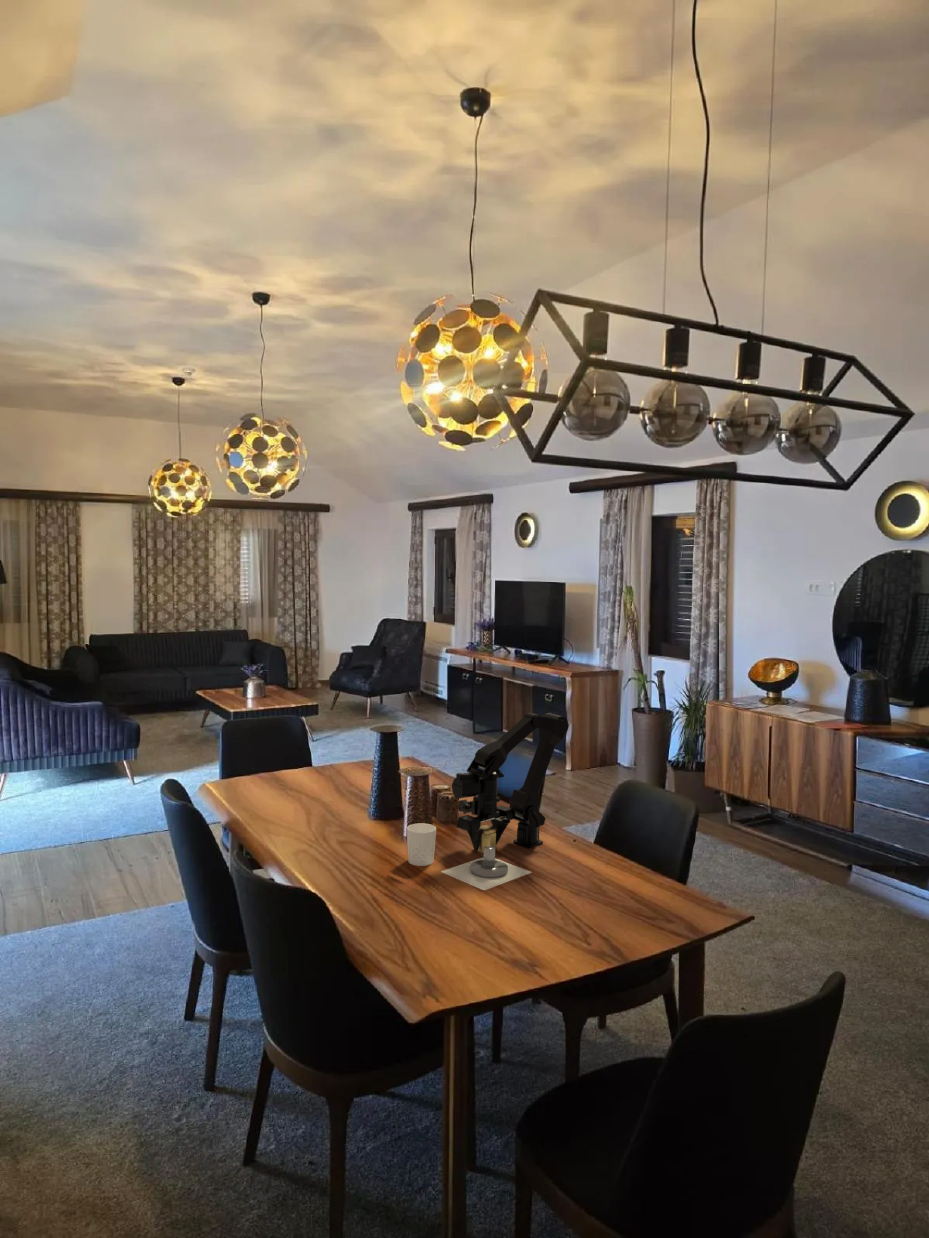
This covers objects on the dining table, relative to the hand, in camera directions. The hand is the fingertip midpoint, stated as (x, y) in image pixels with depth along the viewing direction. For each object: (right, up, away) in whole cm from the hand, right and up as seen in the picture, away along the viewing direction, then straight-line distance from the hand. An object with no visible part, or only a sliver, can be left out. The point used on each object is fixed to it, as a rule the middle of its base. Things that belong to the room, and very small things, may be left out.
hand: (485, 847), depth 223 cm
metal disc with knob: (0, -1, -16) cm, 16 cm away
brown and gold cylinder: (0, -1, 0) cm, 1 cm away
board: (0, -2, -17) cm, 17 cm away
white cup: (-18, -2, -10) cm, 21 cm away
